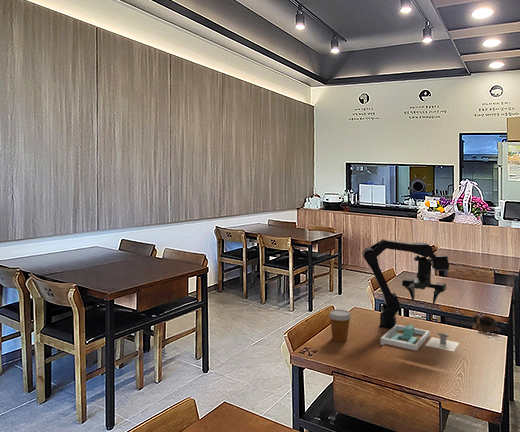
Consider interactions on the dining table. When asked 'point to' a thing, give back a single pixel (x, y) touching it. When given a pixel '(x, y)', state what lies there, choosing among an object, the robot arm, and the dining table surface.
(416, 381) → the dining table surface
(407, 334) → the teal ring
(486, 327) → the pottery mug
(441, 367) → the dining table surface
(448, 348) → the stake board
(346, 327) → the disposable coffee cup
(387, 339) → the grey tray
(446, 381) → the dining table surface
